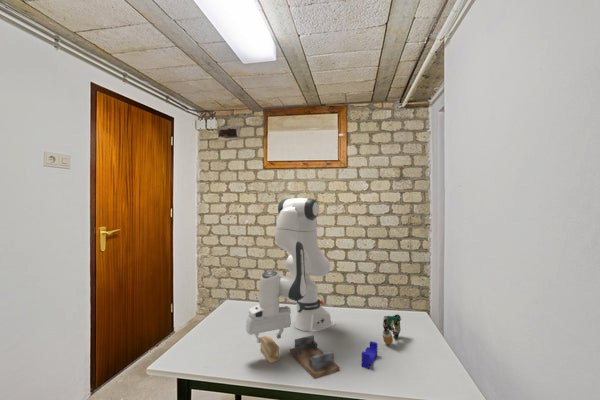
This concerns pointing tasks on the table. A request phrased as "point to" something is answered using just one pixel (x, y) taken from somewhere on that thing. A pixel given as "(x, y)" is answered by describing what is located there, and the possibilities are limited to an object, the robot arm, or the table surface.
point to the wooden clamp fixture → (313, 357)
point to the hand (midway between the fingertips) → (268, 340)
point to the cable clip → (369, 355)
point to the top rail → (269, 349)
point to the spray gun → (391, 328)
